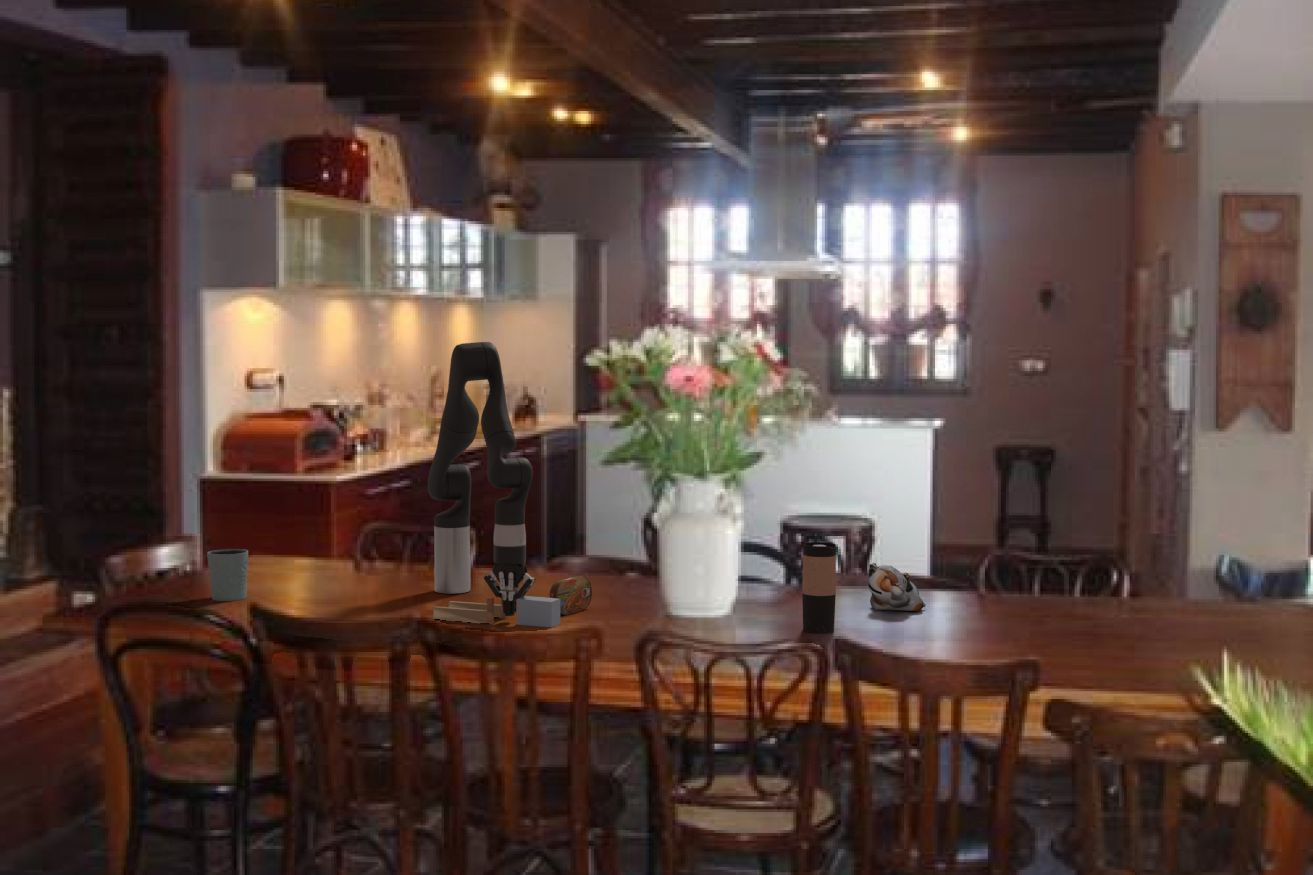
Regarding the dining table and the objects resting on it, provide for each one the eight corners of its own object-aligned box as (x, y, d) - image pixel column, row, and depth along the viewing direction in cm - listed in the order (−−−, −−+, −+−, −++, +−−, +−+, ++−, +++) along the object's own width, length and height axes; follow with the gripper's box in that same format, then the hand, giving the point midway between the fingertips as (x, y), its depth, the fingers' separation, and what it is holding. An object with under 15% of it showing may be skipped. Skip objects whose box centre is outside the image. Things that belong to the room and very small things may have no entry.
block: (525, 621, 362) (525, 595, 362) (560, 624, 359) (560, 598, 358) (517, 624, 358) (517, 599, 358) (551, 627, 355) (551, 601, 354)
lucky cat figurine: (934, 611, 377) (923, 566, 370) (892, 632, 374) (880, 587, 368) (903, 585, 390) (892, 540, 383) (862, 605, 387) (850, 560, 381)
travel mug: (799, 627, 357) (800, 541, 355) (831, 626, 357) (832, 541, 356) (805, 633, 349) (806, 546, 348) (838, 633, 350) (839, 546, 348)
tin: (557, 617, 367) (557, 582, 367) (546, 616, 369) (546, 581, 368) (593, 607, 380) (593, 574, 379) (582, 606, 382) (582, 573, 381)
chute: (451, 613, 371) (451, 588, 371) (508, 617, 366) (508, 592, 366) (433, 619, 363) (433, 594, 363) (491, 624, 358) (491, 598, 357)
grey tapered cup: (237, 602, 384) (236, 554, 383) (200, 600, 386) (199, 553, 385) (255, 595, 394) (255, 549, 393) (219, 593, 396) (218, 547, 395)
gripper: (542, 542, 361) (541, 614, 362) (491, 538, 366) (491, 610, 367) (528, 546, 354) (528, 620, 355) (477, 543, 359) (477, 616, 360)
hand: (509, 615), depth 361 cm, fingers closed
